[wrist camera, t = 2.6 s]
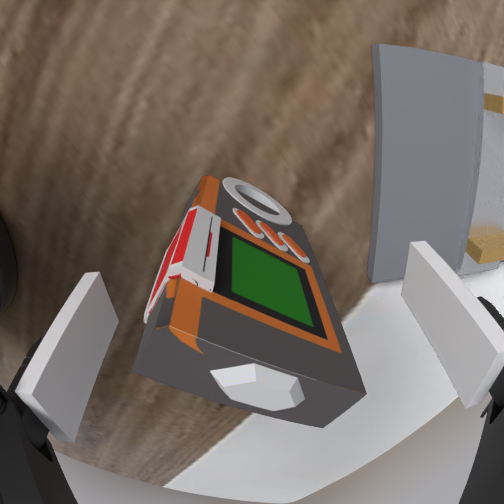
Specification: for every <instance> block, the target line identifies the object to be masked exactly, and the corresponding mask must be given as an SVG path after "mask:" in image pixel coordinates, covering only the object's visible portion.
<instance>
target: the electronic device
mask: <svg viewBox="0 0 504 504" xmlns="http://www.w3.org/2000/svg"><path fill="white" fill-rule="evenodd" d="M144 322H145V323H146V326H145V329H144V332H143V336H142V339H141V342H140V346H139V349H138V353H137V356H136V360H135V363H134V367H133V370H132V371H133V372H135V373H137V374H140V375H142V376H145V377H147V378H150V379H153V380H155V381H158V382H160V383H163V384H166V385H168V386H171V387H174V388H177V389H179V390H182V391H185V392H188V393H191V394H194V395H197V396H200V397H203V398H206V399H209V400H212V401H216V402H219V403H222V404H225V405H229V406H232V407H236V408H239V409H243V410H246V411H250V412H254V413H257V414H261V415H265V416H269V417H273V418H277V419H282V420H286V421H290V422H295V423H300V424H304V425H309V426H314V427H319V428H324V427H325V426H326V425H328V424H329V423H330V422H332V421H333V420H334V419H336V418H337V417H338V416H340V415H341V414H342V413H344V412H345V411H346V410H348V409H349V408H350V407H351V406H353V405H354V404H355V403H356V402H358V401H359V400H360V399H361V398H363V397H364V396H365V395H366V394H367V393H366V390H365V388H364V385H363V382H362V379H361V376H360V373H359V371H358V368H357V365H356V362H355V359H354V357H353V354H352V351H351V348H350V346H349V343H348V340H347V338H346V335H345V332H344V330H343V327H342V324H341V322H340V319H339V317H338V314H337V311H336V309H335V306H334V304H333V301H332V298H331V296H330V293H329V291H328V288H327V286H326V283H325V281H324V278H323V276H322V273H321V271H320V269H319V266H318V264H317V261H316V259H315V256H314V254H313V252H312V249H311V247H310V244H309V242H308V240H307V237H306V235H305V233H304V230H303V228H302V226H301V225H299V224H298V223H296V222H294V221H292V218H291V216H290V214H289V213H288V212H287V211H286V210H285V209H284V207H283V206H281V205H280V204H279V203H278V202H277V201H276V200H274V199H273V198H272V197H270V196H269V195H268V194H266V193H265V192H263V191H261V190H260V189H258V188H256V187H255V186H253V185H251V184H249V183H246V182H244V181H242V180H239V179H235V178H230V177H229V178H224V180H223V181H220V180H218V179H216V178H214V177H212V176H210V175H206V176H204V177H202V178H201V180H200V182H199V183H198V185H197V187H196V189H195V191H194V193H193V194H192V196H191V198H190V200H189V202H188V204H187V206H186V209H185V211H184V214H183V217H182V219H181V222H180V225H179V227H178V230H177V233H176V235H175V237H174V239H173V240H172V242H171V244H170V246H169V247H168V249H167V250H166V253H165V255H164V258H163V261H162V264H161V266H160V269H159V272H158V275H157V278H156V280H155V283H154V286H153V289H152V292H151V295H150V298H149V301H148V304H147V307H146V310H145V313H144Z"/></svg>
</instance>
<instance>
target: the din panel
mask: <svg viewBox="0 0 504 504" xmlns="http://www.w3.org/2000/svg"><path fill="white" fill-rule="evenodd" d="M371 47H372V60H373V76H374V101H375V168H374V193H373V211H372V225H371V237H370V249H369V259H368V268H367V276H368V278H369V279H370V281H371V283H378V282H385V281H392V280H398V279H404V277H405V272H406V266H407V260H408V254H409V247H410V242H417V241H426V242H427V243H428V244H429V245H430V246H431V247H432V248H433V249H434V250H435V252H436V253H437V254H438V255H439V256H440V257H441V258H442V259H443V260H444V261H445V262H446V263H447V264H448V265H449V267H450V268H451V269H452V270H453V271H454V270H455V266H456V262H457V258H458V254H459V249H460V245H461V240H462V235H463V230H464V225H465V220H466V214H467V209H468V203H469V196H470V189H471V182H472V174H473V165H474V154H475V142H476V125H477V64H476V61H474V60H470V59H466V58H462V57H457V56H453V55H448V54H444V53H439V52H433V51H428V50H422V49H416V48H410V47H403V46H396V45H387V44H375V45H371ZM500 262H504V260H501V261H500Z"/></svg>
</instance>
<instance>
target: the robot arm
mask: <svg viewBox="0 0 504 504" xmlns="http://www.w3.org/2000/svg"><path fill="white" fill-rule="evenodd" d="M16 287H17V266H16V260H15V255H14V251H13V248H12V244H11V241H10V239H9V236H8V233H7V231H6V229H5V226H4V224H3V222H2V220H1V218H0V316H1V314H2V313H3V312H4V310H5V309H6V308H7V306H8V305H9V304H10V302H11V301H12V299H13V297H14V295H15V292H16ZM401 296H402V298H403V299H404V301H405V302H406V304H407V305H408V307H409V309H410V310H411V312H412V314H413V315H414V317H415V318H416V320H417V322H418V323H419V325H420V327H421V328H422V330H423V332H424V334H425V335H426V337H427V339H428V340H429V342H430V344H431V346H432V347H433V349H434V351H435V353H436V354H437V356H438V358H439V360H440V362H441V363H442V365H443V367H444V369H445V371H446V372H447V374H448V376H449V378H450V380H451V382H452V384H453V386H454V388H455V389H456V391H457V393H458V395H459V397H460V399H461V401H462V403H463V405H464V407H465V409H466V408H469V407H471V406H474V405H476V404H479V403H481V402H482V401H483V399H484V398H485V397H486V395H487V394H488V392H490V394H491V396H492V400H491V401H490V402H489V404H488V405H487V407H486V408H485V410H484V411H483V412H482V414H481V416H480V417H481V418H482V417H484V415H485V414H486V412H487V416H486V420H485V424H484V428H483V432H482V436H481V440H480V443H479V447H478V450H477V454H476V457H475V460H474V463H473V466H472V469H471V472H470V475H469V478H468V481H467V484H466V486H465V489H464V491H463V494H462V497H461V499H460V502H459V504H504V318H503V317H502V316H501V314H499V312H498V311H497V310H496V308H495V307H494V306H493V305H492V304H491V303H490V302H489V301H487V300H486V299H484V298H483V297H481V296H480V297H476V296H475V295H474V294H473V293H472V291H471V290H470V289H469V288H468V287H467V286H466V285H465V283H464V282H463V281H462V280H461V279H460V278H459V277H458V275H457V274H456V273H455V272H454V271H453V270H452V269H451V268H450V267H449V265H448V264H447V263H446V262H445V261H444V260H443V259H442V258H441V257H440V256H439V255H438V254H437V253H436V252H435V250H434V249H433V248H432V247H431V246H430V245H429V244H428V243H427V242H426V241H417V242H410V247H409V254H408V260H407V266H406V272H405V277H404V282H403V288H402V293H401ZM118 323H119V320H118V318H117V315H116V313H115V310H114V308H113V305H112V303H111V300H110V298H109V295H108V293H107V290H106V287H105V285H104V282H103V279H102V277H101V274H100V272H90V273H85V274H84V275H83V277H82V278H81V280H80V281H79V283H78V284H77V286H76V287H75V289H74V290H73V292H72V293H71V295H70V296H69V298H68V299H67V301H66V302H65V304H64V306H63V307H62V309H61V310H60V312H59V313H58V315H57V317H56V318H55V320H54V322H53V323H52V325H51V326H50V328H49V330H48V331H47V333H46V335H45V337H44V338H40V339H39V340H38V341H37V342H36V343H35V344H34V345H33V346H32V347H31V349H30V350H29V352H28V354H27V356H26V358H25V359H24V361H23V363H22V366H20V368H19V370H18V372H17V374H16V375H15V377H14V379H13V381H12V383H11V385H10V387H9V389H8V391H7V393H6V391H5V390H4V389H3V388H2V386H1V385H0V504H78V503H77V501H76V499H75V497H74V495H73V493H72V491H71V489H70V487H69V485H68V483H67V480H66V478H65V476H64V474H63V471H62V469H61V467H60V465H59V462H58V460H57V457H56V455H55V453H54V450H53V447H52V445H51V443H50V441H49V440H48V438H47V435H48V432H49V431H50V432H51V433H52V434H53V435H54V436H55V437H56V439H58V440H62V441H67V442H72V443H74V442H75V439H76V436H77V432H78V429H79V426H80V423H81V420H82V417H83V414H84V411H85V408H86V406H87V403H88V400H89V397H90V394H91V391H92V389H93V386H94V383H95V381H96V378H97V375H98V373H99V370H100V367H101V365H102V362H103V360H104V357H105V354H106V352H107V349H108V347H109V344H110V342H111V339H112V337H113V335H114V332H115V330H116V327H117V325H118Z"/></svg>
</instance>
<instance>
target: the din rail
mask: <svg viewBox="0 0 504 504" xmlns="http://www.w3.org/2000/svg"><path fill="white" fill-rule="evenodd" d="M476 64H477V125H476V142H475V154H474V165H473V174H472V182H471V189H470V196H469V203H468V209H467V214H466V220H465V225H464V230H463V235H462V240H461V245H460V249H459V254H458V258H457V262H456V266H455V270H454V271H455V272H456V273H457V274H458V275H459V276H460V275H465V274H471V273H476V272H481V271H486V270H491V269H496V268H498V267H499V263H500V261H501V260H504V68H503V67H500V66H497V65H493V64H490V63H486V62H482V61H476Z"/></svg>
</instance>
